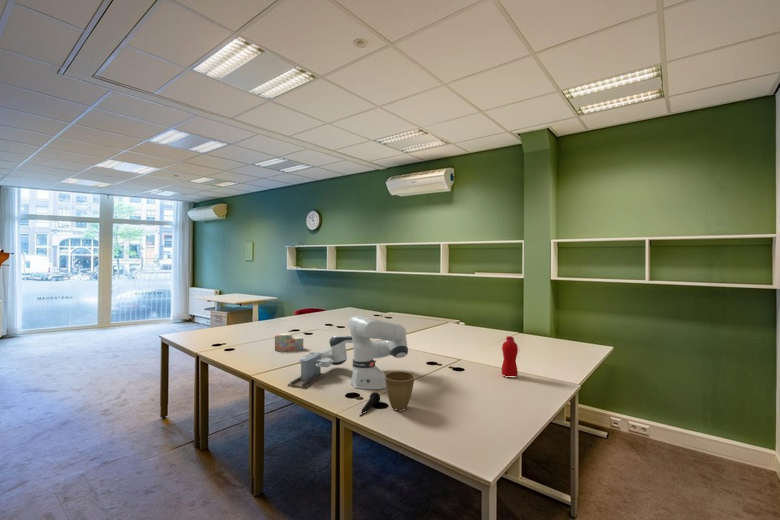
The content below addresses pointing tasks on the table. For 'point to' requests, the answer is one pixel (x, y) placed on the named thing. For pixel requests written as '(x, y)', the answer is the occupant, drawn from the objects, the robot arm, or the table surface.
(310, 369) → the tall grey rectangular block
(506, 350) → the water bottle
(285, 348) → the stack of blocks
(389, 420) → the table surface
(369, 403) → the microphone
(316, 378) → the track board
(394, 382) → the plant pot
